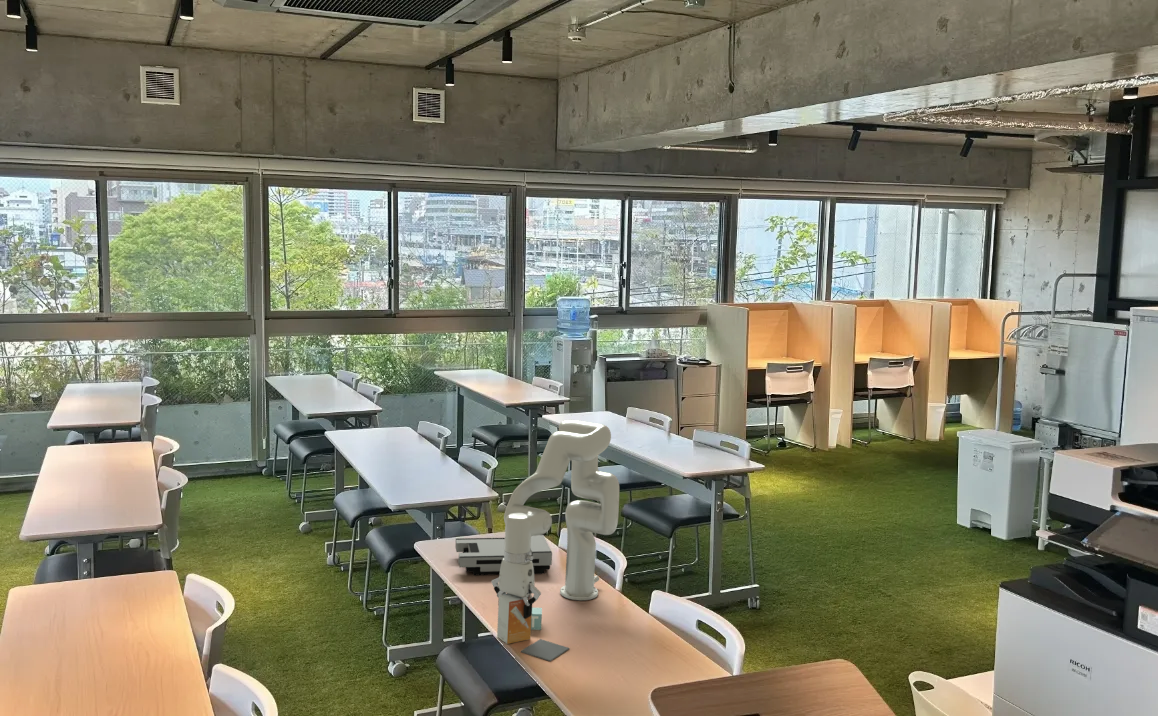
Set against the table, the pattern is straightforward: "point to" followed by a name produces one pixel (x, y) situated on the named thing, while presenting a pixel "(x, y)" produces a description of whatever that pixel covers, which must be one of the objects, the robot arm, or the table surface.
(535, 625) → the letter cube
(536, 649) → the pad
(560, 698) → the table surface
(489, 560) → the gray flat machine
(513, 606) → the small box
